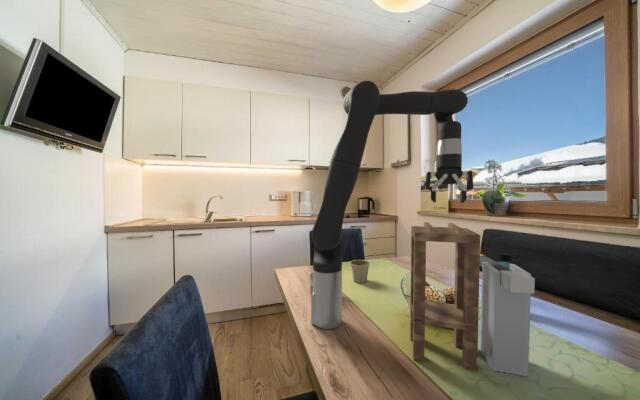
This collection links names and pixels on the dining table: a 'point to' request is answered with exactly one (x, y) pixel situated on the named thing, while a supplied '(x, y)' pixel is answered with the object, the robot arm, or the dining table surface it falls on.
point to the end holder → (504, 323)
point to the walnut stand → (466, 291)
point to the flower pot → (360, 270)
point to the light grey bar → (511, 277)
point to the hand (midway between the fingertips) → (448, 202)
